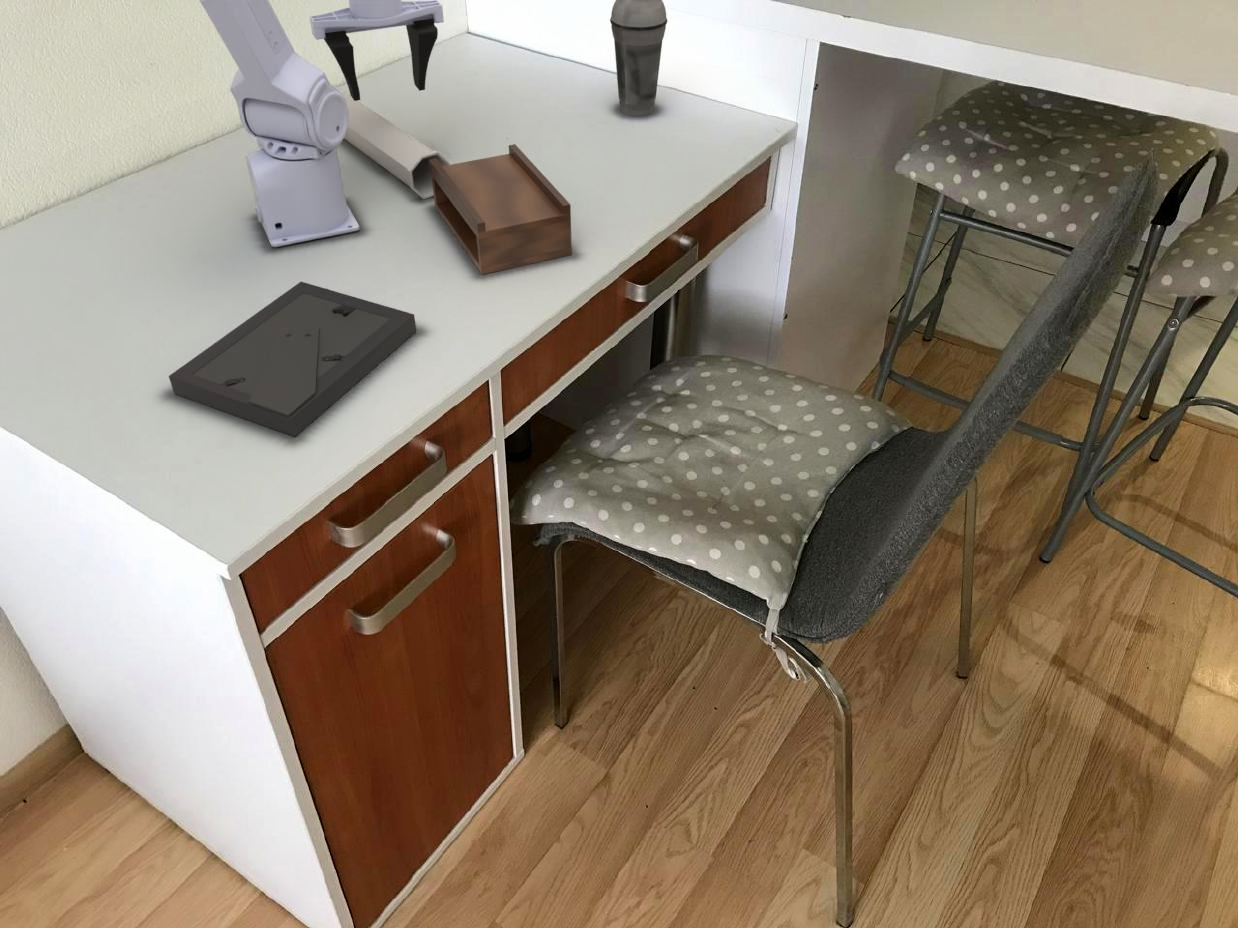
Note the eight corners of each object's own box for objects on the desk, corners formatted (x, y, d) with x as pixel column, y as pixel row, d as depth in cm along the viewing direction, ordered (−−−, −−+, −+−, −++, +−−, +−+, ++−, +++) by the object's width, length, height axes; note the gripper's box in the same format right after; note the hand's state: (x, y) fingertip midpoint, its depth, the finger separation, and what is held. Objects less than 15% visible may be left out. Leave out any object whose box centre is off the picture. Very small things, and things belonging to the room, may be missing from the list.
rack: (482, 274, 108) (477, 223, 104) (434, 208, 119) (429, 159, 115) (571, 254, 111) (570, 204, 107) (518, 191, 122) (515, 144, 118)
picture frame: (295, 437, 88) (416, 331, 100) (289, 416, 86) (413, 311, 99) (173, 394, 92) (304, 297, 104) (166, 373, 91) (300, 278, 103)
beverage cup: (602, 102, 142) (602, -58, 129) (653, 96, 144) (658, -62, 131) (619, 123, 137) (620, -41, 124) (671, 117, 139) (678, -46, 126)
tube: (306, 101, 132) (402, 169, 117) (341, 78, 133) (440, 143, 118) (326, 136, 136) (421, 207, 121) (359, 114, 137) (458, 181, 122)
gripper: (425, -49, 119) (437, 71, 128) (295, -34, 114) (318, 89, 123) (443, -32, 114) (455, 92, 123) (309, -16, 109) (331, 112, 118)
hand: (387, 92), depth 123 cm, fingers open, 7 cm apart
